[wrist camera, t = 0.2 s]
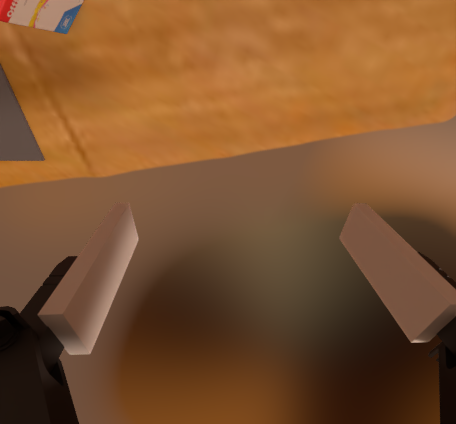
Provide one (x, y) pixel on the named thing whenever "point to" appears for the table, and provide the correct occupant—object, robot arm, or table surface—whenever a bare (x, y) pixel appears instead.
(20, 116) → the mat
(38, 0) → the ink box
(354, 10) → the table surface
